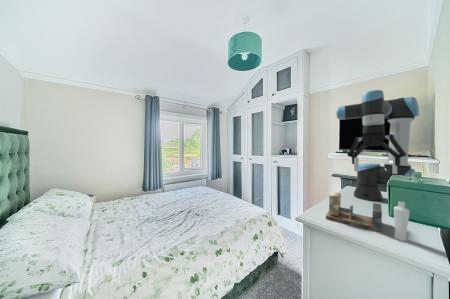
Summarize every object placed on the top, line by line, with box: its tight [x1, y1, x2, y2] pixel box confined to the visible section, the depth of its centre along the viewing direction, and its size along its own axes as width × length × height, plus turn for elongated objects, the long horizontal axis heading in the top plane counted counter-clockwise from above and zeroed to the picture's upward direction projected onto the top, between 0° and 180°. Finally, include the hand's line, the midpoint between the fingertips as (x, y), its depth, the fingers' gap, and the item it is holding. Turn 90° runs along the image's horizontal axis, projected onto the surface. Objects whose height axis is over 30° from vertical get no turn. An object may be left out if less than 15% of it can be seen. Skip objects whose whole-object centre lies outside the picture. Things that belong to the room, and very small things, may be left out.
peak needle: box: [348, 205, 354, 220], centre depth 85 cm, size 1×9×4 cm, turn 139°
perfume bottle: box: [393, 200, 411, 242], centre depth 70 cm, size 5×4×15 cm
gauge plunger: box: [328, 191, 350, 216], centre depth 89 cm, size 8×7×10 cm
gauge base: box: [325, 202, 383, 233], centre depth 85 cm, size 21×12×9 cm, turn 49°
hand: (374, 172), depth 77 cm, fingers open, 13 cm apart
